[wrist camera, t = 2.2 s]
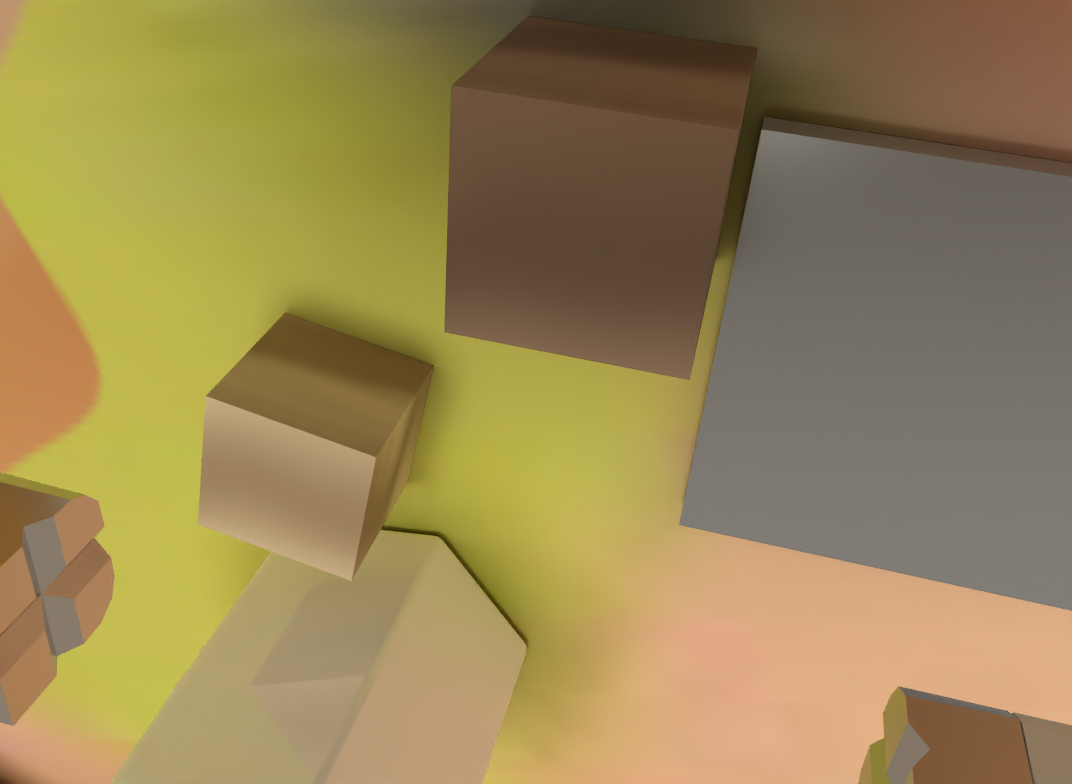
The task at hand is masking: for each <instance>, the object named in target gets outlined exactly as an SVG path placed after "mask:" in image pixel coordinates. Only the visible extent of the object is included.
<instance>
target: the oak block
mask: <svg viewBox="0 0 1072 784" xmlns="http://www.w3.org/2000/svg"><path fill="white" fill-rule="evenodd" d="M433 368H434V366H433V365H431V364H428V363H425V362H422V361H419V360H416V359H414V358H411V357H408V356H405V355H402V354H400V353H397V352H394V351H391V350H388V349H386V348H383V347H380V346H377V345H374V344H371V343H369V342H366V341H363V340H360V339H357V338H355V337H352V336H349V335H346V334H343V333H340V332H338V331H335V330H332V329H329V328H326V327H324V326H321V325H318V324H315V323H312V322H309V321H307V320H304V319H301V318H298V317H295V316H293V315H290V314H287V313H285V314H284V315H283V316H282V317H281V318H280V319H279V320H278V321H277V322H276V323H275V324H274V325H273V326H272V327H271V328H270V329H269V330H268V331H267V333H266V334H265V335H264V336H263V337H262V338H261V339H260V340H259V341H258V342H257V343H256V344H255V345H254V346H253V347H252V348H251V349H250V350H249V351H248V352H247V353H246V355H245V356H244V357H243V358H242V359H241V360H240V361H239V362H238V363H237V364H236V365H235V366H234V367H233V368H232V369H231V370H230V371H229V372H228V373H227V374H226V376H225V377H224V378H223V379H222V380H221V381H220V382H219V383H218V384H217V385H216V386H215V387H214V388H213V389H212V390H211V391H210V392H209V393H208V394H207V395H206V403H205V419H204V435H203V452H202V468H201V484H200V500H199V517H198V525H201V526H204V527H206V528H209V529H212V530H215V531H217V532H220V533H223V534H225V535H228V536H231V537H234V538H236V539H239V540H242V541H244V542H247V543H250V544H253V545H255V546H258V547H261V548H263V549H266V550H269V551H271V552H274V553H277V554H280V555H282V556H285V557H288V558H290V559H293V560H296V561H299V562H301V563H304V564H307V565H309V566H312V567H315V568H318V569H320V570H323V571H326V572H328V573H331V574H334V575H337V576H339V577H342V578H345V579H347V580H350V581H352V579H353V578H354V576H355V574H356V572H357V571H358V569H359V567H360V565H361V563H362V562H363V560H364V558H365V556H366V555H367V553H368V551H369V549H370V548H371V546H372V544H373V542H374V541H375V539H376V537H377V535H378V534H379V532H380V530H381V528H382V526H383V525H384V523H385V521H386V519H387V518H388V516H389V514H390V512H391V511H392V509H393V507H394V505H395V504H396V502H397V500H398V498H399V496H400V495H401V493H402V491H403V489H404V488H405V486H406V484H407V482H408V478H409V473H410V469H411V464H412V460H413V456H414V451H415V447H416V442H417V438H418V434H419V429H420V425H421V420H422V416H423V412H424V407H425V403H426V398H427V394H428V390H429V385H430V381H431V376H432V372H433Z"/></svg>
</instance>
